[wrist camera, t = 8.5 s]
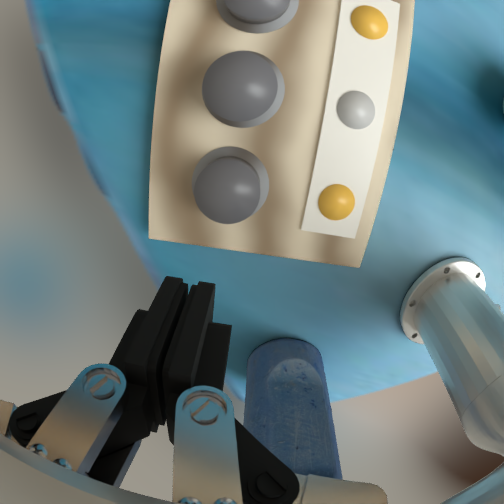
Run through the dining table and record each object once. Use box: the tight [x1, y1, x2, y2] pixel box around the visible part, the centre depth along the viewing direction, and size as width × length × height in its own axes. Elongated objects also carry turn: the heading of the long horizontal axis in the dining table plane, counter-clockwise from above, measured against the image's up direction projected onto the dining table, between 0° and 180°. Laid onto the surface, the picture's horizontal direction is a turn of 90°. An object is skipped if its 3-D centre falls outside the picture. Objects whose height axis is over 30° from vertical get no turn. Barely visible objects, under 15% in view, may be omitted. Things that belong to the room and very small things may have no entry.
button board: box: [149, 0, 415, 268], centre depth 22 cm, size 20×28×2 cm
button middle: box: [202, 51, 278, 122], centre depth 19 cm, size 5×5×2 cm
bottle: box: [243, 338, 342, 480], centre depth 24 cm, size 10×10×30 cm
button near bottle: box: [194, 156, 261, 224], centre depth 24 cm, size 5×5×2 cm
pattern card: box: [301, 0, 400, 239], centre depth 21 cm, size 5×22×1 cm, turn 172°
